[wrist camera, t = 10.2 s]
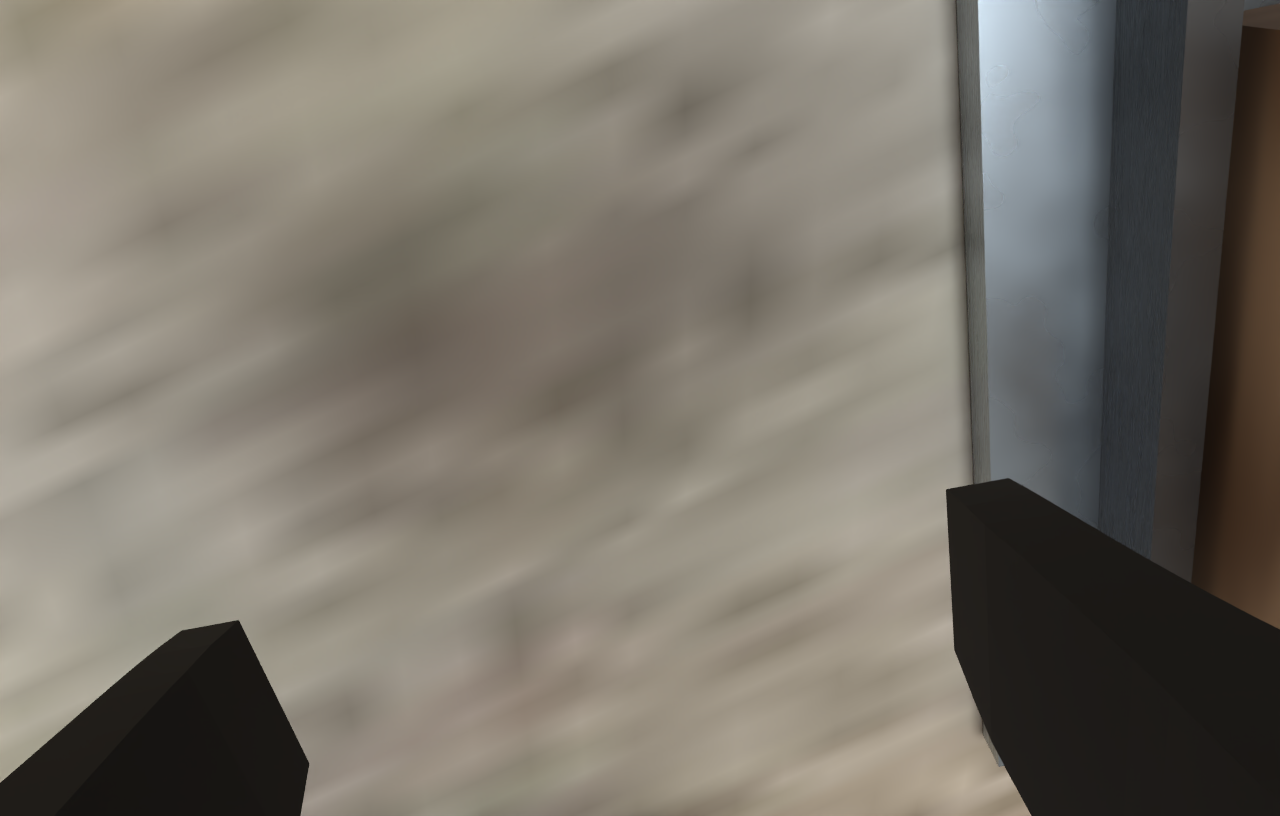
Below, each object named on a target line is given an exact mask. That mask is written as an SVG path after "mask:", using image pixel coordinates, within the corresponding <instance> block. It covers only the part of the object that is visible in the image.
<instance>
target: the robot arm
mask: <svg viewBox="0 0 1280 816" xmlns="http://www.w3.org/2000/svg"><path fill="white" fill-rule="evenodd" d="M946 499H947V518H948V537H949V556H950V574H951V593H952V612H953V631H954V650H955V652H956V655H957V657H958V660H959V663H960V665H961V668H962V670H963V673H964V675H965V678H966V680H967V683H968V686H969V688H970V691H971V693H972V696H973V698H974V701H975V703H976V706H977V708H978V710H979V713H980V715H981V718H982V720H983V722H984V725H985V727H986V730H987V732H988V734H989V737H990V739H991V742H992V744H993V745H994V747H995V749H996V751H997V753H998V755H999V757H1000V759H1001V760H1002V762H1003V764H1004V766H1005V768H1006V770H1007V772H1008V773H1009V775H1010V777H1011V779H1012V781H1013V783H1014V784H1015V786H1016V788H1017V790H1018V792H1019V794H1020V795H1021V797H1022V799H1023V801H1024V803H1025V805H1026V806H1027V808H1028V810H1029V812H1030V814H1031V815H1032V816H1280V629H1278V628H1276V627H1274V626H1272V625H1270V624H1268V623H1266V622H1264V621H1262V620H1260V619H1258V618H1256V617H1254V616H1252V615H1250V614H1248V613H1246V612H1245V611H1243V610H1241V609H1239V608H1237V607H1235V606H1233V605H1231V604H1229V603H1227V602H1226V601H1224V600H1222V599H1220V598H1218V597H1216V596H1214V595H1212V594H1210V593H1209V592H1207V591H1205V590H1203V589H1201V588H1199V587H1198V586H1196V585H1194V584H1192V583H1190V582H1188V581H1187V580H1185V579H1183V578H1181V577H1179V576H1178V575H1176V574H1174V573H1172V572H1170V571H1169V570H1167V569H1165V568H1163V567H1161V566H1160V565H1158V564H1156V563H1154V562H1153V561H1151V560H1149V559H1147V558H1146V557H1144V556H1142V555H1140V554H1139V553H1137V552H1135V551H1133V550H1132V549H1130V548H1128V547H1126V546H1125V545H1123V544H1121V543H1120V542H1118V541H1116V540H1114V539H1113V538H1111V537H1109V536H1108V535H1106V534H1104V533H1103V532H1101V531H1099V530H1097V529H1096V528H1094V527H1092V526H1091V525H1089V524H1087V523H1086V522H1084V521H1082V520H1080V519H1079V518H1077V517H1075V516H1074V515H1072V514H1070V513H1069V512H1067V511H1065V510H1064V509H1062V508H1060V507H1059V506H1057V505H1055V504H1054V503H1052V502H1050V501H1048V500H1047V499H1045V498H1043V497H1042V496H1040V495H1038V494H1037V493H1035V492H1033V491H1031V490H1030V489H1028V488H1026V487H1024V486H1023V485H1021V484H1019V483H1017V482H1015V481H1013V480H1012V479H1010V478H1006V479H1000V480H995V481H989V482H984V483H979V484H973V485H968V486H962V487H957V488H951V489H946ZM308 768H309V762H308V760H307V758H306V756H305V754H304V752H303V750H302V748H301V746H300V744H299V742H298V740H297V738H296V736H295V733H294V731H293V729H292V727H291V725H290V723H289V721H288V719H287V717H286V715H285V713H284V711H283V709H282V707H281V705H280V703H279V701H278V699H277V697H276V695H275V693H274V691H273V689H272V687H271V685H270V683H269V681H268V679H267V677H266V675H265V673H264V670H263V668H262V666H261V664H260V662H259V660H258V658H257V656H256V654H255V652H254V650H253V648H252V646H251V644H250V642H249V640H248V638H247V636H246V634H245V632H244V630H243V628H242V626H241V624H240V622H239V620H237V621H232V622H226V623H221V624H215V625H210V626H204V627H199V628H194V629H188V630H183V631H181V632H179V633H178V634H176V635H175V636H174V637H172V638H171V639H170V640H168V641H167V642H165V643H164V644H163V645H161V646H160V647H159V648H158V649H156V650H155V651H154V652H152V653H151V654H150V655H149V656H147V657H146V658H145V659H144V660H143V661H141V662H140V663H139V664H138V665H136V666H135V667H134V668H133V669H132V670H130V671H129V672H128V673H127V674H126V675H124V676H123V677H122V678H121V679H120V680H119V681H117V682H116V683H115V684H114V685H113V686H112V687H110V688H109V689H108V690H107V691H106V692H105V693H103V694H102V695H101V696H100V697H99V698H98V699H96V700H95V701H94V702H93V703H92V704H91V705H90V706H88V707H87V708H86V709H85V710H84V711H83V712H81V713H80V714H79V715H78V716H77V717H76V718H75V719H73V720H72V721H71V722H70V723H69V724H68V725H67V726H65V727H64V728H63V729H62V730H61V731H60V732H58V733H57V734H56V735H55V736H54V737H53V738H52V739H50V740H49V741H48V742H47V743H46V744H45V745H43V746H42V747H41V748H40V749H39V750H38V751H37V752H35V753H34V754H33V755H32V756H31V757H30V758H28V759H27V760H26V761H25V762H24V763H23V764H22V765H20V766H19V767H18V768H17V769H16V770H15V771H13V772H12V773H11V774H10V775H9V776H8V777H7V778H5V779H4V780H3V781H2V782H1V783H0V816H300V815H301V809H302V803H303V797H304V791H305V785H306V780H307V774H308Z"/></svg>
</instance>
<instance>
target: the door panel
mask: <svg viewBox="0 0 1280 816" xmlns="http://www.w3.org/2000/svg"><path fill="white" fill-rule="evenodd" d="M1191 583H1192V584H1194V585H1196V586H1198V587H1199V588H1201V589H1203V590H1205V591H1207V592H1209V593H1210V594H1212V595H1214V596H1216V597H1218V598H1220V599H1222V600H1224V601H1226V602H1227V603H1229V604H1231V605H1233V606H1235V607H1237V608H1239V609H1241V610H1243V611H1245V612H1246V613H1248V614H1250V615H1252V616H1254V617H1256V618H1258V619H1260V620H1262V621H1264V622H1266V623H1268V624H1270V625H1272V626H1274V627H1276V628H1278V629H1280V3H1279V4H1274V5H1269V6H1264V7H1259V8H1255V9H1250V10H1245V11H1244V13H1243V24H1242V35H1241V46H1240V57H1239V68H1238V79H1237V90H1236V101H1235V112H1234V122H1233V133H1232V144H1231V155H1230V166H1229V177H1228V188H1227V199H1226V210H1225V221H1224V231H1223V242H1222V253H1221V264H1220V275H1219V286H1218V297H1217V308H1216V319H1215V330H1214V340H1213V351H1212V362H1211V373H1210V384H1209V395H1208V406H1207V417H1206V428H1205V438H1204V449H1203V460H1202V471H1201V482H1200V493H1199V504H1198V515H1197V526H1196V537H1195V547H1194V558H1193V569H1192V580H1191Z"/></svg>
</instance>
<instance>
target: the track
mask: <svg viewBox="0 0 1280 816" xmlns="http://www.w3.org/2000/svg"><path fill="white" fill-rule="evenodd" d="M1279 3H1280V0H956V6H957V33H958V60H959V87H960V115H961V142H962V169H963V197H964V224H965V251H966V278H967V306H968V333H969V360H970V387H971V415H972V442H973V469H974V484H979V483H984V482H989V481H995V480H1000V479H1006V478H1010V479H1012V480H1013V481H1015V482H1017V483H1019V484H1021V485H1023V486H1024V487H1026V488H1028V489H1030V490H1031V491H1033V492H1035V493H1037V494H1038V495H1040V496H1042V497H1043V498H1045V499H1047V500H1048V501H1050V502H1052V503H1054V504H1055V505H1057V506H1059V507H1060V508H1062V509H1064V510H1065V511H1067V512H1069V513H1070V514H1072V515H1074V516H1075V517H1077V518H1079V519H1080V520H1082V521H1084V522H1086V523H1087V524H1089V525H1091V526H1092V527H1094V528H1096V529H1097V530H1099V531H1101V532H1103V533H1104V534H1106V535H1108V536H1109V537H1111V538H1113V539H1114V540H1116V541H1118V542H1120V543H1121V544H1123V545H1125V546H1126V547H1128V548H1130V549H1132V550H1133V551H1135V552H1137V553H1139V554H1140V555H1142V556H1144V557H1146V558H1147V559H1149V560H1151V561H1153V562H1154V563H1156V564H1158V565H1160V566H1161V567H1163V568H1165V569H1167V570H1169V571H1170V572H1172V573H1174V574H1176V575H1178V576H1179V577H1181V578H1183V579H1185V580H1187V581H1188V582H1190V583H1191V580H1192V569H1193V558H1194V547H1195V537H1196V526H1197V515H1198V504H1199V493H1200V482H1201V471H1202V460H1203V449H1204V438H1205V428H1206V417H1207V406H1208V395H1209V384H1210V373H1211V362H1212V351H1213V340H1214V330H1215V319H1216V308H1217V297H1218V286H1219V275H1220V264H1221V253H1222V242H1223V231H1224V221H1225V210H1226V199H1227V188H1228V177H1229V166H1230V155H1231V144H1232V133H1233V122H1234V112H1235V101H1236V90H1237V79H1238V68H1239V57H1240V46H1241V35H1242V24H1243V13H1244V11H1245V10H1250V9H1255V8H1259V7H1264V6H1269V5H1274V4H1279ZM983 736H984V738H985V740H986V742H987V744H988V746H989V748H990V750H991V752H992V754H993V756H994V758H995V760H996V762H997V764H998V766H999V767H1000V766H1004V764H1003V762H1002V760H1001V759H1000V757H999V755H998V753H997V751H996V749H995V747H994V745H993V744H992V742H991V739H990V737H989V734H988V732H987V730H986V727H985V725H984V722H983Z"/></svg>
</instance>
